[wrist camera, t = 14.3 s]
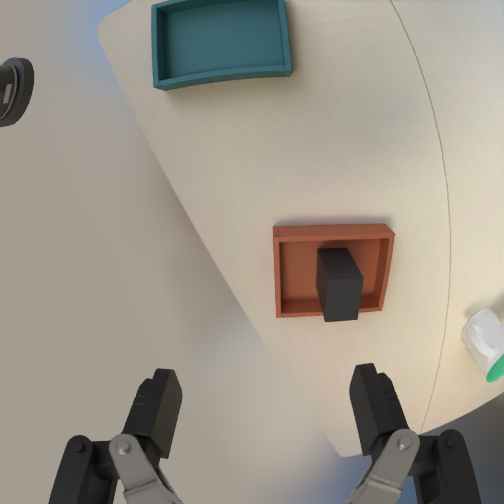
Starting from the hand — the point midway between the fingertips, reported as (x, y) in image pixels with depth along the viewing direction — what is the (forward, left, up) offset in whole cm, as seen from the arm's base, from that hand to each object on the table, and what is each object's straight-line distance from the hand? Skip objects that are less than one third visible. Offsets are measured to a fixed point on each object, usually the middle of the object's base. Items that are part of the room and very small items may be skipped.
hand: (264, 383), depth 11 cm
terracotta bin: (+7, -6, -22) cm, 23 cm away
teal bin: (-3, +21, -22) cm, 30 cm away
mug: (+36, -19, -22) cm, 46 cm away
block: (+7, -6, -21) cm, 23 cm away
